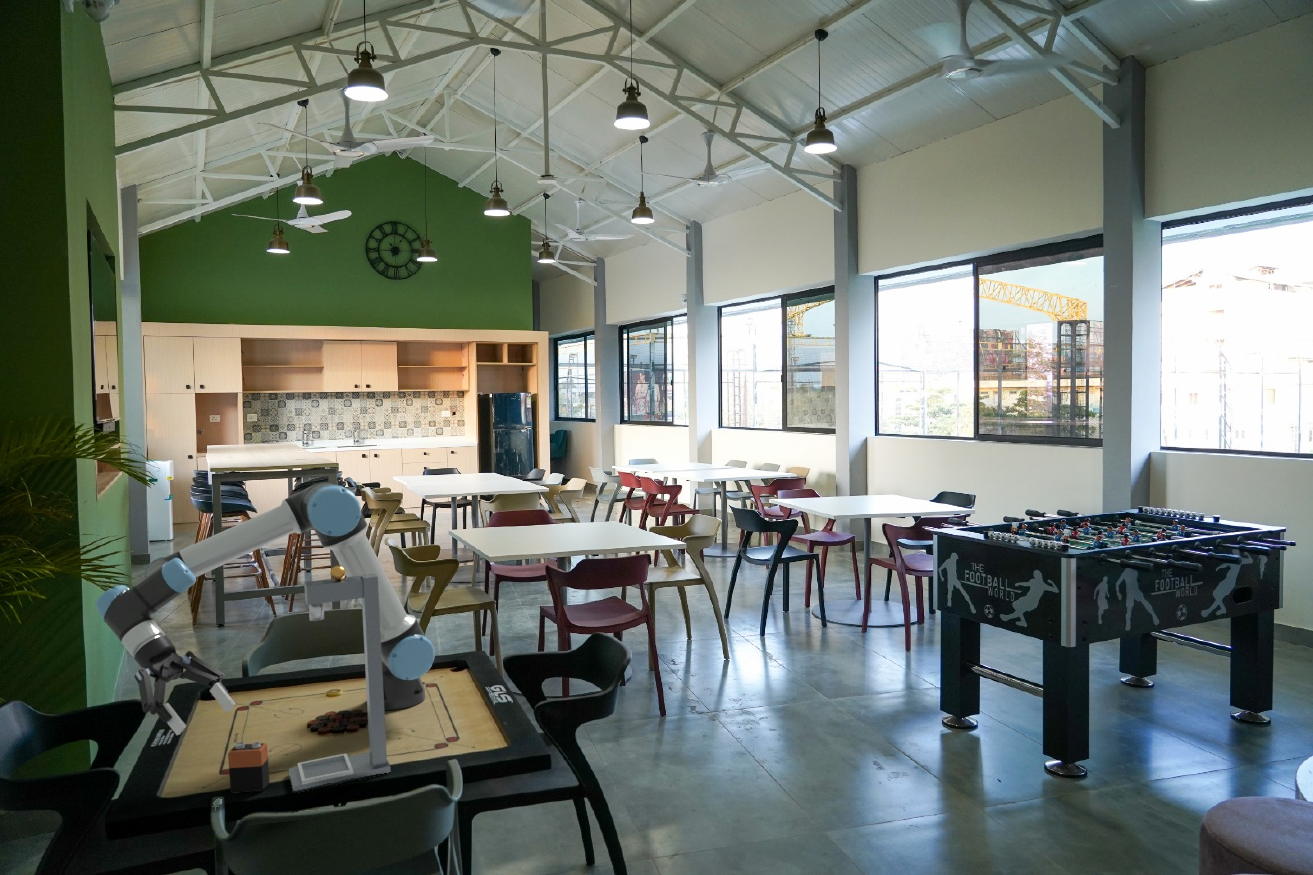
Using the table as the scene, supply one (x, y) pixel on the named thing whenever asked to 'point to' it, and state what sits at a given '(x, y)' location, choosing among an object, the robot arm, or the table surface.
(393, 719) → the table surface
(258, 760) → the battery
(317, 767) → the arbor press
